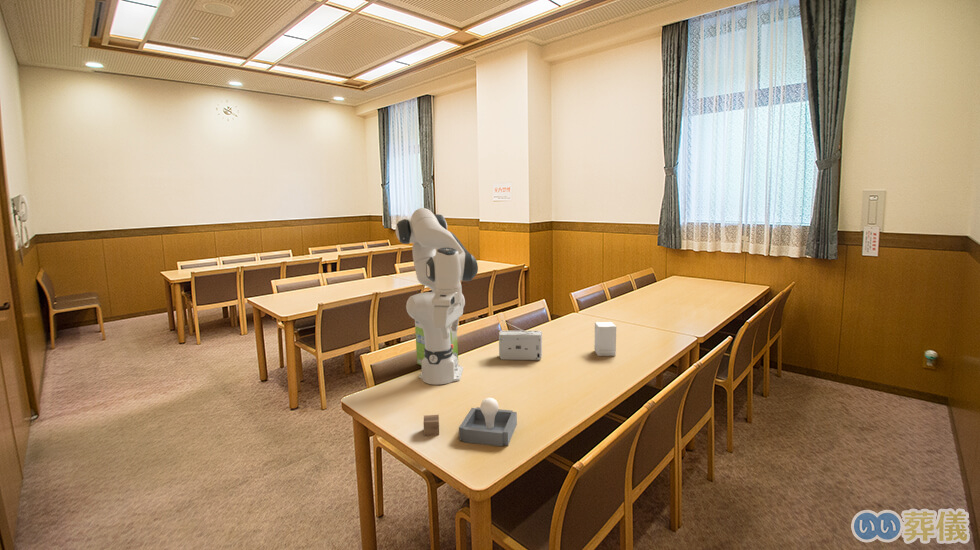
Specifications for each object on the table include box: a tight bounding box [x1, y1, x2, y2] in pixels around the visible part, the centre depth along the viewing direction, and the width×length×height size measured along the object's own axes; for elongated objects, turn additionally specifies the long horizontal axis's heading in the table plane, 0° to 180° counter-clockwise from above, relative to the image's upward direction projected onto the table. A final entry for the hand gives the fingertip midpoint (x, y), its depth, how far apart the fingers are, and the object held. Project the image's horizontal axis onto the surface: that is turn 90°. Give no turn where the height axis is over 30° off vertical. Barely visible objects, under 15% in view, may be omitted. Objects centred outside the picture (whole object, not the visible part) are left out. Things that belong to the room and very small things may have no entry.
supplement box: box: [593, 321, 617, 357], centre depth 232 cm, size 9×9×15 cm
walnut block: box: [422, 414, 440, 437], centre depth 157 cm, size 5×5×5 cm
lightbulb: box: [480, 397, 500, 429], centre depth 157 cm, size 6×6×11 cm
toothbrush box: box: [414, 319, 459, 367], centre depth 222 cm, size 18×10×24 cm, turn 130°
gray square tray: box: [458, 406, 518, 447], centre depth 156 cm, size 16×16×4 cm
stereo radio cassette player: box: [498, 320, 543, 361], centre depth 227 cm, size 21×8×20 cm, turn 84°
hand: (450, 334), depth 162 cm, fingers open, 8 cm apart
